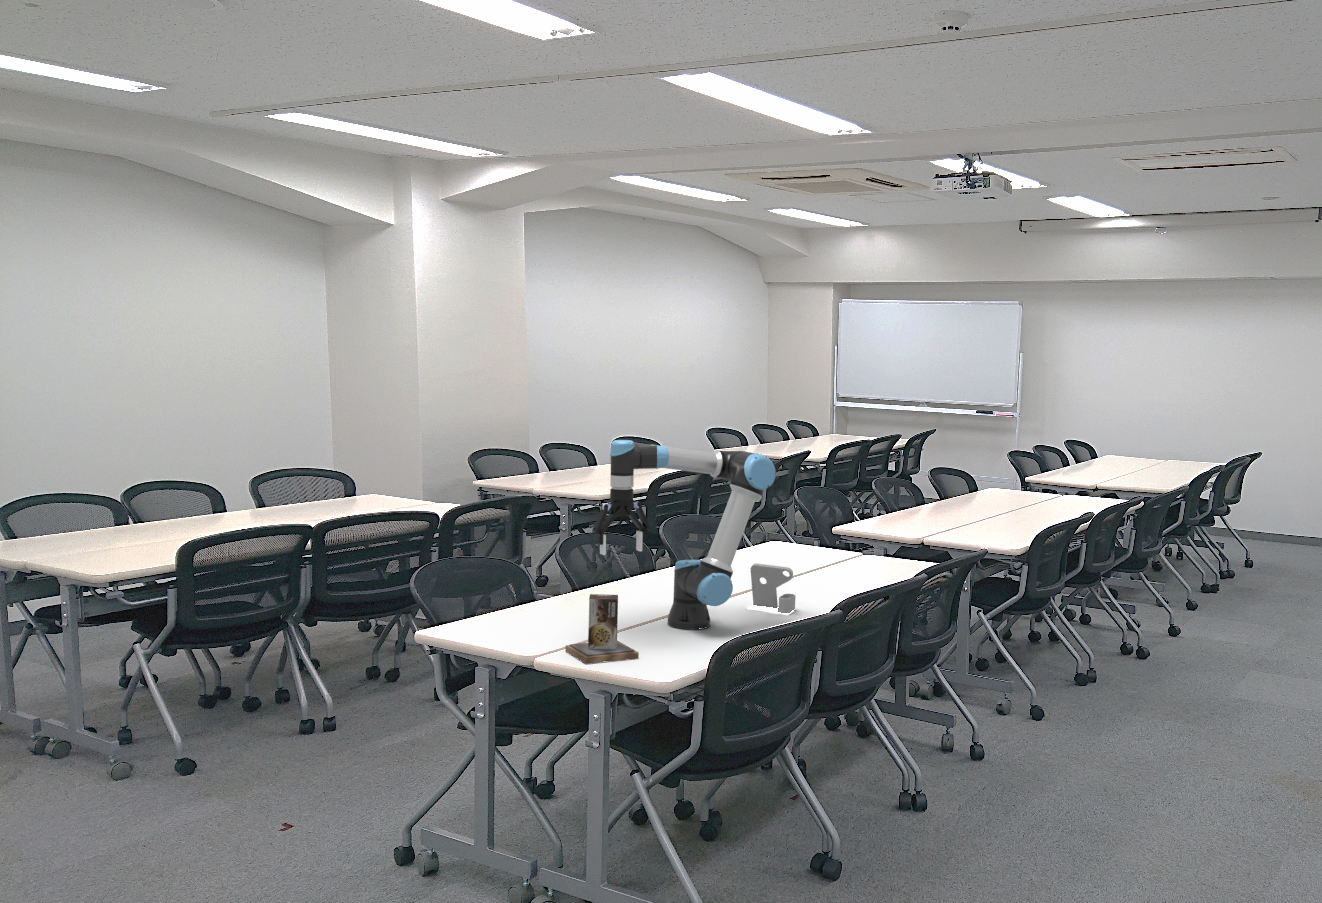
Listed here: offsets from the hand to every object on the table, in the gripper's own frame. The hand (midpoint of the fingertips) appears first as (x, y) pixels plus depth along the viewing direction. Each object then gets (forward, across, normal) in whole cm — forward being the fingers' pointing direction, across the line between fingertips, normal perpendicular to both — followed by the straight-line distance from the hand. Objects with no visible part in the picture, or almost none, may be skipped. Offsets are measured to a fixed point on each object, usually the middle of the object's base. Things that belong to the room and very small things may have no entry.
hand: (621, 552), depth 352 cm
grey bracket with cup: (+32, -75, -17) cm, 83 cm away
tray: (+29, +14, +13) cm, 35 cm away
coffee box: (+27, +14, +13) cm, 33 cm away
